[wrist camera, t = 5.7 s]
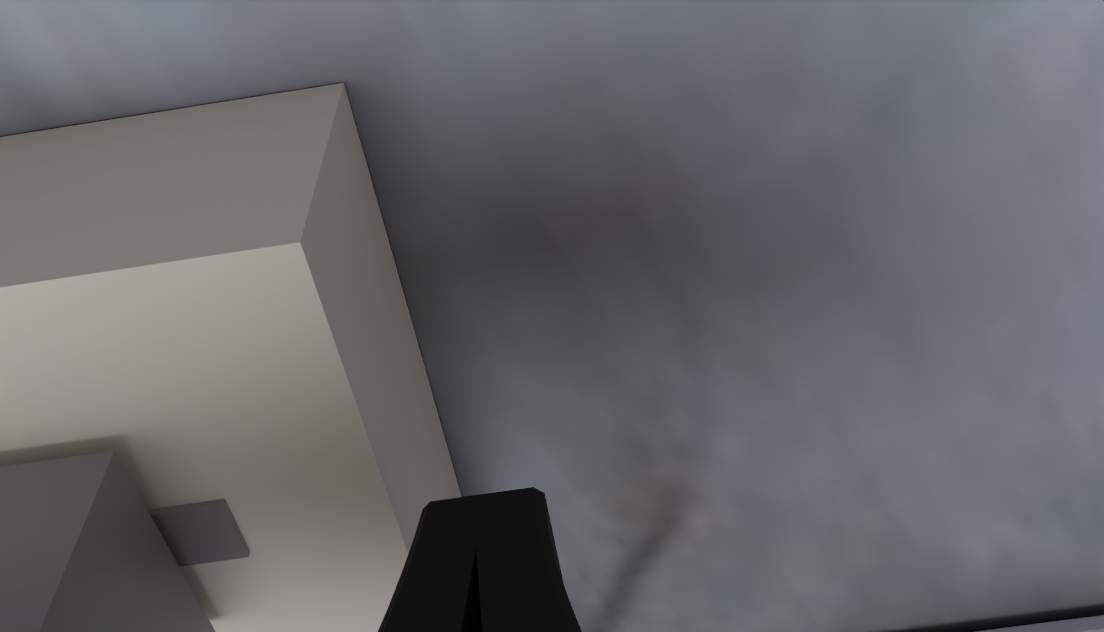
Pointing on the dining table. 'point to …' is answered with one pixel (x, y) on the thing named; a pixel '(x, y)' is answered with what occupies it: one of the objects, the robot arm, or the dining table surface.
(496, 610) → the robot arm
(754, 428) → the dining table surface
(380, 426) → the slider control box
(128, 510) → the block
